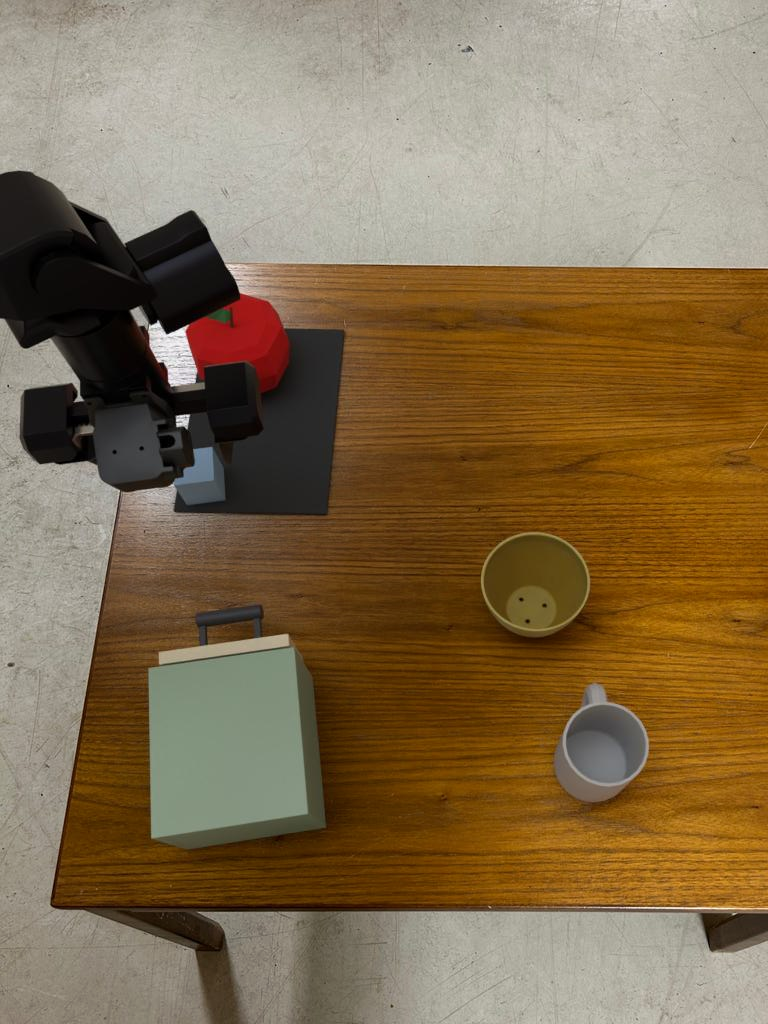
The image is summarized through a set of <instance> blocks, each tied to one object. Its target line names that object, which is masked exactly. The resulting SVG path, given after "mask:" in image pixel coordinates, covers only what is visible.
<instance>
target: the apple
mask: <svg viewBox="0 0 768 1024" xmlns="http://www.w3.org/2000/svg"><path fill="white" fill-rule="evenodd" d="M240 297H241V298H240V300H238V301H236V302H234V303H232V304H230V305H228V306H226V307H224V308H222V309H220V310H218V311H216V312H214V313H212V314H210V315H208V316H206V317H203V318H201V319H199V320H197V321H195V322H193V323H191V324H189V325H187V326H186V327H187V328H186V329H185V336H186V340H187V343H188V347H189V350H190V353H191V356H192V360H193V362H194V365H195V368H196V372H197V371H198V374H199V377H200V378H201V379H202V380H203V381H204V367H205V366H208V365H216V364H224V363H232V362H240V361H248V362H249V363H250V364H252V365H253V366H254V367H255V369H256V372H257V375H258V377H259V381H260V392H261V393H263V392H265V391H268V390H271V389H273V388H276V386H277V384H278V383H279V381H280V379H281V377H282V375H283V373H284V371H285V369H286V367H287V365H288V363H289V340H288V338H287V335H286V333H285V330H284V328H285V327H284V325H283V322H282V320H281V318H280V314H279V313H278V311H277V310H276V309H275V308H274V306H273V305H272V304H271V303H270V301H269V300H266V299H263V298H260V297H255V296H253V295H248V294H245V293H242V292H240Z"/></svg>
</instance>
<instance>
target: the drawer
mask: <svg viewBox="0 0 768 1024" xmlns="http://www.w3.org/2000/svg"><path fill="white" fill-rule="evenodd" d="M264 618H265V612H264V608H263V605H262V604H251V605H244V606H238V607H230V608H224V609H223V608H222V609H217V610H216V609H215V610H209V611H203V612H201V611H200V612H196V613H195V615H194V621H195V625H196V627H197V628H198V635H199V636H198V637H199V646H192V647H186V648H184V647H183V648H178V649H177V648H176V649H171V650H165V651H159V652H158V665H159V666H166V665H173V664H180V663H187V662H194V661H201V660H208V659H215V658H222V657H229V656H236V655H243V654H249V653H256V652H263V651H270V650H277V649H284V648H291V647H294V648H295V649H296V651H297V653H298V654H299V656H300V657H301V659H302V661H303V662H304V658H303V655H302V654H301V652H300V651H299V649H298V647H297V646H296V644H295V643H294V641H293V639H292V637H291V636H290V634H289V633H283V634H277V635H276V634H275V635H270V636H263V628H262V626H263V625H262V620H263V619H264ZM245 622H253V634H254V638H248V639H247V638H246V639H242V640H236V641H235V640H234V641H226V642H220V643H214V644H213V643H212V644H209V643H208V639H209V638H208V627H209V628H210V627H216V626H223V625H224V626H225V625H230V624H238V623H245Z"/></svg>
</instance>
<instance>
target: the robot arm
mask: <svg viewBox="0 0 768 1024" xmlns="http://www.w3.org/2000/svg"><path fill="white" fill-rule="evenodd" d="M240 293H241V292H240V289H239V286H238V283H237V280H236V278H235V276H234V275H233V274H232V272H231V271H230V270H229V268H228V267H227V265H226V264H225V261H224V259H223V258H222V256H221V253H220V252H219V250H218V248H217V246H216V245H215V243H214V242H213V240H212V238H211V235H210V232H209V229H208V227H207V226H206V225H205V223H204V221H203V220H202V219H201V217H200V216H199V215H198V213H197V212H196V211H195V210H192V209H190V210H188V211H185V212H184V213H182V214H179V215H177V216H176V217H174V218H173V219H172V220H170V221H169V222H168V223H166V224H163V225H162V226H159V227H157V228H155V229H152V230H149V231H148V232H146V233H144V234H141V235H140V236H137V237H135V238H133V239H130V240H128V241H126V242H123V240H122V239H121V238H120V236H119V235H118V233H117V232H116V231H115V229H114V227H113V226H112V224H111V223H110V222H109V220H108V219H107V217H104V216H102V215H100V214H98V213H96V212H93V211H91V210H89V209H87V208H85V207H83V206H81V205H79V204H77V203H74V202H72V201H71V200H69V199H68V198H67V197H66V195H65V193H64V192H63V190H61V189H60V188H59V187H57V186H56V185H55V184H54V183H53V182H52V181H49V180H48V179H45V178H43V177H41V176H39V175H36V174H35V173H34V172H33V171H29V170H12V171H5V172H2V173H0V319H2V320H4V321H5V323H6V324H7V326H8V328H9V330H10V332H11V333H12V335H13V336H14V339H15V341H16V342H17V343H18V345H19V347H21V348H22V349H24V350H28V349H31V348H33V347H35V346H37V345H40V344H42V343H44V342H45V341H47V340H51V341H52V343H53V344H54V345H55V347H56V349H57V350H58V352H59V353H60V354H61V356H62V358H63V359H64V360H65V362H66V363H67V365H68V366H69V367H70V369H71V370H72V372H73V374H74V375H75V376H76V377H77V379H78V380H79V390H78V389H77V387H75V385H74V383H73V382H68V383H59V384H52V385H44V386H43V385H42V386H36V387H29V388H26V389H24V390H23V392H22V394H21V396H20V404H19V405H20V409H19V436H18V437H19V438H18V439H19V441H20V444H21V447H22V449H23V450H24V452H25V453H27V455H28V456H29V457H30V458H31V460H32V461H34V462H36V463H37V464H38V465H47V464H55V465H58V466H62V465H69V464H76V463H77V464H78V463H84V462H88V463H90V464H93V465H95V466H96V467H97V472H98V477H99V478H100V480H101V481H102V482H103V483H105V484H106V485H108V486H110V487H112V488H113V489H116V490H117V491H119V492H121V493H128V494H129V493H134V492H137V491H138V492H139V491H145V490H153V489H163V488H164V489H165V488H168V487H170V486H172V485H174V481H175V479H176V478H183V477H184V472H183V471H184V469H185V468H188V467H193V466H194V465H195V458H194V451H193V445H192V438H191V435H190V432H189V431H188V430H187V428H186V427H185V426H183V425H182V426H177V417H179V416H187V415H190V414H196V413H203V412H207V416H208V420H209V424H210V428H211V430H212V432H213V434H214V441H215V444H218V445H219V448H220V451H221V454H222V457H223V460H224V461H225V463H226V464H227V465H230V464H231V463H232V451H233V444H234V441H242V440H245V439H247V438H248V437H250V436H257V435H259V433H260V432H261V431H262V430H263V429H264V425H263V414H262V403H261V392H260V381H259V377H258V375H257V372H256V369H255V367H254V366H253V365H252V364H250V363H249V362H248V361H240V362H232V363H224V364H216V365H208V366H205V367H204V382H203V383H195V382H194V383H188V384H179V385H171V384H170V382H169V370H168V368H167V366H166V363H165V362H164V361H158V359H157V357H156V355H155V354H154V352H153V350H152V349H151V345H150V344H151V343H150V342H151V341H150V340H151V339H150V333H149V332H148V330H147V329H148V328H147V327H146V326H145V325H139V324H138V322H137V320H136V319H135V317H134V314H133V312H132V310H135V309H137V308H138V309H139V310H140V312H141V314H142V315H143V317H144V318H145V320H146V322H147V323H148V324H149V326H153V325H156V324H158V323H159V325H160V327H161V329H162V330H163V332H164V334H165V336H166V335H167V336H168V335H170V334H172V333H175V332H177V331H179V330H181V329H183V328H185V327H188V326H189V324H191V323H193V322H195V321H197V320H199V319H201V318H203V317H206V316H208V315H210V314H212V313H214V312H216V311H218V310H220V309H222V308H224V307H226V306H228V305H230V304H232V303H234V302H236V301H238V300H240V298H241V297H240ZM79 396H80V397H81V399H82V400H79V401H76V400H77V399H78V397H79Z"/></svg>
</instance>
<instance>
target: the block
mask: <svg viewBox="0 0 768 1024" xmlns="http://www.w3.org/2000/svg"><path fill="white" fill-rule="evenodd" d="M193 451H194V458H195V465H194V466H193V467H188V468H185V469H184V471H183V472H184V477H183V478H176V479H175V481H174V482H173V486H174V488H175V489H176V492H177V491H178V492H179V494H180V495H181V497H182V498H183V500H184V501H185V503H186V504H187V505H194V504H201V503H209V502H216V501H224V500H225V483H224V468H223V466H222V464H221V462H220V460H219V459H218V457H217V455H216V453H215V451H214V449H213V447H207V448H199V449H193Z"/></svg>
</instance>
